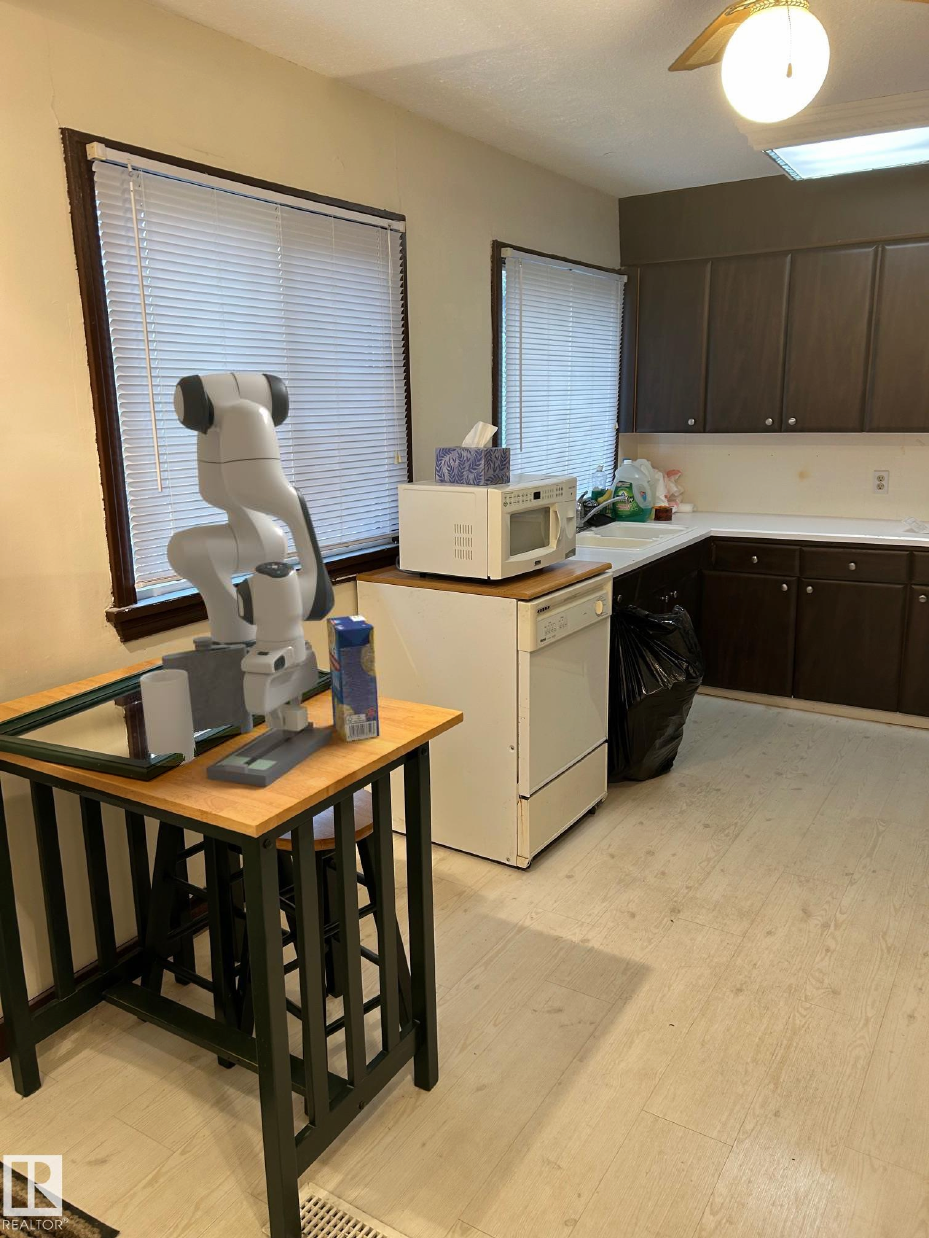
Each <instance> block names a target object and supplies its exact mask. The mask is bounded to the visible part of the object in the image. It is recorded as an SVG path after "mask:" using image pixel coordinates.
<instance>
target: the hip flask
mask: <svg viewBox="0 0 929 1238" xmlns="http://www.w3.org/2000/svg"><path fill="white" fill-rule="evenodd" d="M212 642H213V640H212V637H211V636H198V637H194V638H193V639H192V644H193V645H194V649H192V650H185V651H180V652H179V651H178V652H175V653H170V654H165V655H163V656H161V664H162V665H161V666H162V670H169V669H177V670H183V671H186V672H187V674H188V683H189V692H190V702H191V711H192V721H193V730H194V733H195V732H199V731H204V730H207V729H213V728H219V727H222V726H228V725H239V726H240V727H241V734H240V735H242V734H250V733H252V732H254V722H253V714H250V713H249V712H248V711H247V709H246V706H245V698H244V686H243V681H244V676H245V674H246V671H242V669H241V661H242V660H243V658H244V657H245V656H246V655H247V653H246V645H243V644H236V645H214V646H212V644H211V643H212Z"/></svg>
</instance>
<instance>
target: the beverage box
mask: <svg viewBox="0 0 929 1238" xmlns="http://www.w3.org/2000/svg"><path fill="white" fill-rule="evenodd" d="M326 629H327V645H328V646H327V648H328V656H329V657H328V660H329V661H328V663H329V673H330V676H329V678H330V691H331V692H330V693H331V706H332V720H333V726H334V727H335V729H336V730H337V732H338V734H339V735H340V737H341V738H342V740H343V741H344V742H345V743H347V741H348V742H353V741H352V740H355V741H359V740H358V739H361V740H366V739H365V738H368V739H370V738H369V737H375V738H377V737H376V736H380V724H379V723H380V722H379V721H380V720H379V719H380V718H379V717H380V716H379V703H378V702H379V701H378V699H379V698H378V685H377V684H378V683H377V682H378V681H377V665H376V664H377V663H376V662H377V661H376V646H375V645H376V644H375V626H374V625H373V624H371V623H370V622H369V621H368V620H367V619H366V618H365V617H364V616H362V614H358V615H350V616H349V615H348V616H338V617H329V618H326Z"/></svg>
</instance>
